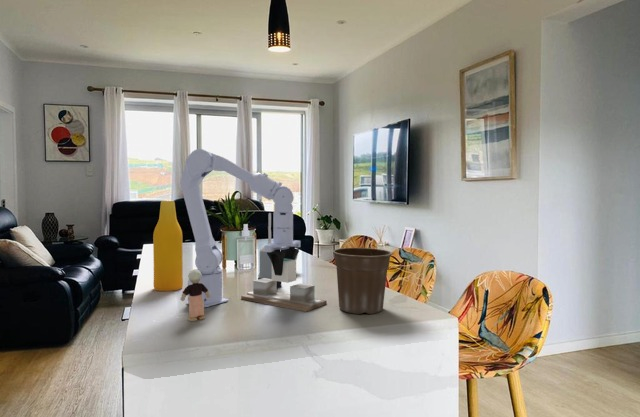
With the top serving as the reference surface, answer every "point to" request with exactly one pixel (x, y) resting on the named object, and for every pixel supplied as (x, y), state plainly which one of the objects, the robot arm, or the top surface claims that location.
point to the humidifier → (266, 258)
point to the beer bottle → (168, 250)
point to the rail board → (284, 295)
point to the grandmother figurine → (195, 296)
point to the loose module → (286, 271)
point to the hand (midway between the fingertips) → (283, 274)
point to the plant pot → (361, 279)
